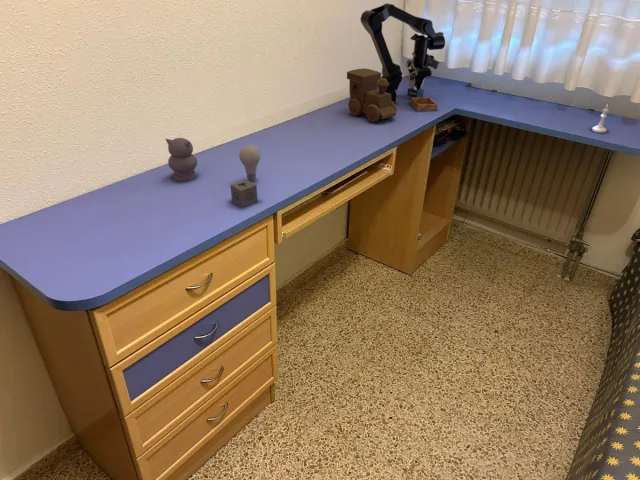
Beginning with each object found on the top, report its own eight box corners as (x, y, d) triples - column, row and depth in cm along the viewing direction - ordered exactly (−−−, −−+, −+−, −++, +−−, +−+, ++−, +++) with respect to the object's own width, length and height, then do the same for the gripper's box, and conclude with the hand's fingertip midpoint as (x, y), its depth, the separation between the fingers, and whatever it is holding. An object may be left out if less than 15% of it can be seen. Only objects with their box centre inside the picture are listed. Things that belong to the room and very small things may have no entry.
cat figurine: (203, 172, 148) (198, 135, 142) (192, 183, 142) (186, 144, 135) (178, 169, 150) (172, 132, 143) (165, 180, 143) (158, 142, 137)
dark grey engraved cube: (246, 195, 136) (245, 179, 133) (257, 201, 133) (256, 185, 130) (232, 201, 133) (230, 184, 130) (242, 207, 130) (241, 190, 127)
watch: (404, 96, 215) (406, 70, 210) (416, 94, 220) (419, 68, 214) (413, 98, 212) (416, 72, 206) (425, 96, 216) (429, 70, 211)
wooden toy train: (343, 113, 198) (344, 71, 190) (363, 107, 205) (365, 67, 196) (378, 125, 186) (381, 81, 177) (398, 119, 192) (402, 77, 183)
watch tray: (417, 111, 201) (417, 104, 200) (409, 103, 210) (410, 97, 209) (436, 110, 202) (437, 104, 201) (428, 103, 211) (429, 97, 210)
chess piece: (592, 131, 182) (600, 105, 177) (591, 127, 186) (599, 101, 181) (606, 133, 181) (615, 106, 175) (605, 129, 185) (614, 103, 179)
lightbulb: (244, 186, 140) (241, 150, 135) (239, 178, 145) (235, 143, 139) (264, 183, 143) (262, 147, 137) (258, 175, 147) (256, 140, 141)
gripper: (446, 55, 198) (440, 93, 207) (431, 46, 214) (427, 82, 222) (419, 55, 197) (415, 94, 205) (407, 46, 213) (403, 82, 221)
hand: (416, 88), depth 214 cm, fingers closed on watch, 5 cm apart
